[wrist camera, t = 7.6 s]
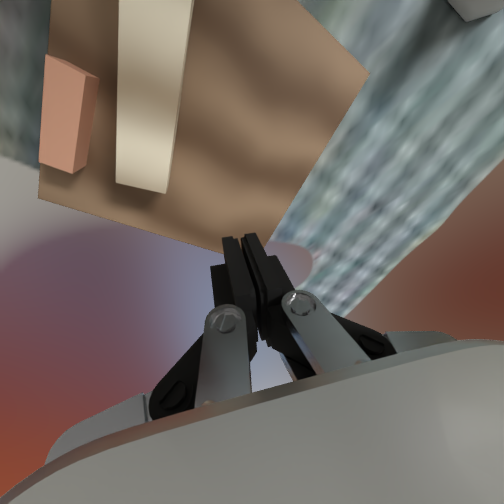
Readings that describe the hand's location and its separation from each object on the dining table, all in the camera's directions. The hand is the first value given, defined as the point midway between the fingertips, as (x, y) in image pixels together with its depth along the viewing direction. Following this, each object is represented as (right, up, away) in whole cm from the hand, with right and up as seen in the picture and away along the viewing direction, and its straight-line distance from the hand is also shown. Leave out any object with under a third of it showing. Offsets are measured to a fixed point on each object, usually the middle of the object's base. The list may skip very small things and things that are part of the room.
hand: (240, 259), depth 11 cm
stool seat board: (-4, +11, +8) cm, 14 cm away
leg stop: (-12, +10, +4) cm, 16 cm away
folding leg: (-6, +12, +4) cm, 14 cm away
